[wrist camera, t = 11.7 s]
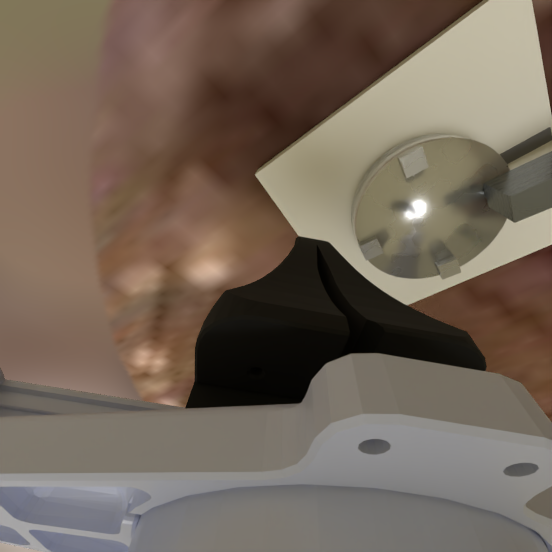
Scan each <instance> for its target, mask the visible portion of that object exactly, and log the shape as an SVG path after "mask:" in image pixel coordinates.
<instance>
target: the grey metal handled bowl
mask: <svg viewBox="0 0 552 552" xmlns="http://www.w3.org/2000/svg"><path fill="white" fill-rule="evenodd" d="M550 208H552V151H551V152H548V153H546V154H544V155H542V156H540V157H538V158H536V159H534V160H531V161H529V162H527V163H525V164H523V165H521V166H519V167H517V168H514V169H512V170H510V169H509V167H508V165H507V163H506V162H505V160H504V159H503V158H502V156H501V155H500V154H498V153H497V152H496V151H495V150H494V149H492V148H491V147H489V146H487V145H486V144H483V143H480V142H478V141H475V140H471V139H468V138H464V137H460V136H456V135H451V134H440V133H437V134H427V135H423V136H418V137H415V138H412V139H409V140H407V141H405V142H403V143H401V144H399V145H397V146H395V147H394V148H392V149H390V150H389V151H387V152H386V153H385V154H384V155H382V156H381V157H380V158H379V159H378V160H377V161H376V162H375V163H374V164H373V165H372V166H371V167H370V168H369V170H368V171H367V172H366V173H365V175H364V177H363V178H362V180H361V181H360V183H359V185H358V187H357V190H356V192H355V195H354V198H353V202H352V207H351V222H352V227H353V231H354V234H355V236H356V239H357V241H358V245H359V248H360V250H361V252H362V254H363V256H364V258H365V260H366V261H367V260H368V261H369V262H370V263H371V264H372V265H373V266H375V267H376V268H377V269H379V270H381V271H382V272H384V273H387V274H389V275H392V276H395V277H400V278H407V279H422V278H429V277H434V276H438V275H439V276H440V277H441V278H442V280H443V279H446V278H448V277H451V276H454V275H456V274H459V273H461V270H460V267H461V266H462V265H464V264H466V263H468V262H469V261H471V260H472V259H474V258H475V257H476V256H477V255H479V254H480V253H481V252H482V251H483V250H484V249H486V248H487V247H488V246H489V245H490V244H491V242H492V241H493V240H494V239H495V238H496V236H497V235H498V234H499V232H500V231H501V229H502V228H503V226H504V224H505V222H506V220H507V219H509V220H511V221H512V222H514V223H516V222H518V221H521V220H523V219H526V218H528V217H530V216H533V215H535V214H538V213H540V212H543V211H545V210H547V209H550Z"/></svg>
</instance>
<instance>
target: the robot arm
mask: <svg viewBox="0 0 552 552" xmlns="http://www.w3.org/2000/svg"><path fill="white" fill-rule="evenodd" d="M0 543H5V544H9V545H14V546H20V547H24V548H29V549H34V550H38V551H43V552H552V422H551V421H550V420H549V418H548V417H547V416H546V415H545V413H544V412H543V411H542V409H541V408H540V407H539V405H538V404H537V403H536V402H535V400H534V399H533V398H532V396H531V395H530V394H529V392H528V391H527V390H526V388H525V387H524V386H523V385H522V383H520V382H518V381H515V380H513V379H511V378H508V377H506V376H503V375H501V374H497V373H492V372H486V362H485V357H484V356H483V355H482V353H481V352H480V350H479V349H478V347H477V346H476V344H475V343H474V341H473V340H472V338H471V337H470V336H469V334H468V333H467V332H466V331H463V330H461V329H458V328H456V327H453V326H451V325H448V324H446V323H443V322H441V321H438V320H436V319H433V318H431V317H429V316H427V315H425V314H423V313H421V312H419V311H417V310H415V309H413V308H411V307H409V306H407V305H405V304H403V303H402V302H400V301H398V300H397V299H395V298H393V297H392V296H390V295H388V294H387V293H385V292H384V291H382V290H381V289H379V288H378V287H377V286H375V285H374V284H373V283H371V282H370V281H369V280H367V279H366V278H365V277H364V276H363V275H362V274H360V273H359V272H358V271H357V270H356V269H355V268H354V267H353V266H352V265H351V264H350V263H349V262H348V261H347V260H346V259H345V258H344V257H343V256H342V255H341V254H340V253H339V252H338V251H337V250H336V249H335V248H334V247H333V245H332V244H330V243H329V242H328V241H323V240H317V239H312V238H306V237H301V236H299V237H297V238H296V241H295V245H294V247H293V249H292V250H291V252H290V253H289V255H288V256H287V257H286V258H285V259H284V260H283V262H282V263H281V264H280V265H279V266H278V267H276V268H275V269H274V270H273V271H272V272H270V273H269V274H267V275H266V276H264V277H263V278H261V279H259V280H257V281H255V282H253V283H250V284H248V285H245V286H241V287H237V288H234V289H230V290H226V291H225V292H224V293H223V294H222V295H221V297H220V298H219V299H218V301H217V302H216V303H215V305H214V306H213V308H212V309H211V311H210V313H209V314H208V316H207V318H206V319H205V321H204V323H203V326H202V328H201V331H200V333H199V335H198V338H197V342H196V347H195V382H194V385H193V388H192V391H191V394H190V396H189V399H188V402H187V405H186V408H183V407H177V406H170V405H164V404H158V403H151V402H145V401H139V400H132V399H126V398H120V397H113V396H107V395H101V394H94V393H88V392H82V391H75V390H69V389H63V388H56V387H50V386H43V385H37V384H30V383H25V382H18V381H12V380H6V379H5V378H4V374H3V372H2V370H1V368H0Z"/></svg>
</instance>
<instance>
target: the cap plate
mask: <svg viewBox="0 0 552 552" xmlns="http://www.w3.org/2000/svg"><path fill="white" fill-rule="evenodd" d="M437 133H440V134H451V135H456V136H460V137H464V138H468V139H471V140H475V141H478V142H480V143H483V144H486V145H487V146H489V147H491V148H492V149H494V150H495V151H496V152H497V153H498V154H500V155H501V156H502V158H503V159H504V160H505V162H506V163H507V165H508V167H509V169H510V170H512V169H514V168H517V167H519V166H521V165H523V164H525V163H527V162H529V161H531V160H534V159H536V158H538V157H540V156H542V155H544V154H546V153H548V152H551V151H552V115H551V109H550V103H549V97H548V91H547V86H546V80H545V74H544V68H543V63H542V57H541V51H540V45H539V39H538V34H537V28H536V22H535V16H534V11H533V5H532V0H483V1H482V2H480V3H479V4H478V5H476V6H475V7H474V8H472V9H471V10H470V11H468V12H467V13H466V14H464V15H463V16H462V17H460V18H459V19H458V20H456V21H455V22H454V23H452V24H451V25H450V26H448V27H447V28H446V29H444V30H443V31H442V32H440V33H439V34H438V35H436V36H435V37H434V38H432V39H431V40H430V41H428V42H427V43H426V44H424V45H423V46H422V47H420V48H419V49H418V50H416V51H415V52H414V53H412V54H411V55H410V56H408V57H407V58H406V59H404V60H403V61H402V62H400V63H399V64H398V65H396V66H395V67H394V68H392V69H391V70H390V71H388V72H387V73H386V74H384V75H383V76H382V77H380V78H379V79H378V80H376V81H375V82H374V83H372V84H371V85H370V86H368V87H367V88H366V89H364V90H363V91H362V92H360V93H359V94H358V95H356V96H355V97H354V98H352V99H351V100H350V101H348V102H347V103H346V104H344V105H343V106H342V107H340V108H339V109H338V110H336V111H335V112H334V113H332V114H331V115H330V116H328V117H327V118H326V119H324V120H323V121H322V122H320V123H319V124H318V125H316V126H315V127H314V128H312V129H311V130H310V131H308V132H307V133H306V134H304V135H303V136H302V137H300V138H299V139H298V140H296V141H295V142H294V143H292V144H291V145H290V146H288V147H287V148H286V149H284V150H283V151H282V152H280V153H279V154H278V155H276V156H275V157H274V158H272V159H271V160H270V161H268V162H267V163H266V164H264V165H263V166H262V167H260V168H259V169H258V170H257V172H256V174H255V176H256V177H257V178H258V180H259V181H260V183H261V184H262V185H263V187H264V188H265V190H266V191H267V192H268V194H269V195H270V197H271V198H272V199H273V201H274V202H275V204H276V205H277V206H278V208H279V209H280V211H281V212H282V213H283V215H284V216H285V218H286V219H287V220H288V222H289V223H290V225H291V226H292V227H293V229H294V230H295V232H296V233H297V234H298V236H301V237H306V238H312V239H317V240H323V241H328V242H329V243H330V244H332V245H333V247H334V248H335V249H336V250H337V251H338V252H339V253H340V254H341V255H342V256H343V257H344V258H345V259H346V260H347V261H348V262H349V263H350V264H351V265H352V266H353V267H354V268H355V269H356V270H357V271H358V272H359V273H360V274H362V275H363V276H364V277H365V278H366V279H367V280H369V281H370V282H371V283H373V284H374V285H375V286H377V287H378V288H379V289H381V290H382V291H384V292H385V293H387V294H388V295H390V296H392V297H393V298H395V299H397V300H398V301H400V302H402V303H403V304H405V305H409V304H411V303H414V302H416V301H418V300H421V299H423V298H426V297H428V296H430V295H433V294H435V293H437V292H440V291H442V290H445V289H447V288H449V287H452V286H454V285H456V284H459V283H461V282H464V281H466V280H468V279H471V278H473V277H475V276H478V275H480V274H483V273H485V272H487V271H490V270H492V269H494V268H497V267H499V266H502V265H504V264H506V263H509V262H511V261H513V260H516V259H518V258H521V257H523V256H525V255H528V254H530V253H532V252H535V251H537V250H540V249H542V248H544V247H547V246H549V245H552V208H550V209H547V210H545V211H543V212H540V213H538V214H535V215H533V216H530V217H528V218H526V219H523V220H521V221H518V222H516V223H514V222H512V221H511V220H509V219H507V220H506V222H505V224H504V226H503V228H502V229H501V231H500V232H499V234H498V235H497V236H496V238H495V239H494V240H493V241H492V242H491V244H490V245H489V246H488V247H487V248H486V249H484V250H483V251H482V252H481V253H480V254H479V255H477V256H476V257H475V258H474V259H472V260H471V261H469V262H468V263H466V264H464V265H462V266H461V267H460V270H461V273H459V274H456V275H454V276H451V277H448V278H446V279H443V280H442V278H441V277H440V276H439V275H438V276H434V277H429V278H422V279H407V278H400V277H395V276H392V275H389V274H387V273H384V272H382V271H381V270H379V269H377V268H376V267H375V266H373V265H372V264H371V263H370V262H369V261H368V260H367V261H366V260H365V258H364V256H363V254H362V252H361V250H360V248H359V245H358V241H357V239H356V236H355V234H354V231H353V227H352V222H351V207H352V202H353V198H354V195H355V192H356V190H357V187H358V185H359V183H360V181H361V180H362V178H363V177H364V175H365V173H366V172H367V171H368V170H369V168H370V167H371V166H372V165H373V164H374V163H375V162H376V161H377V160H378V159H379V158H380V157H381V156H382V155H384V154H385V153H386V152H387V151H389V150H390V149H392V148H394V147H395V146H397V145H399V144H401V143H403V142H405V141H407V140H409V139H412V138H415V137H418V136H423V135H427V134H437Z"/></svg>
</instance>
